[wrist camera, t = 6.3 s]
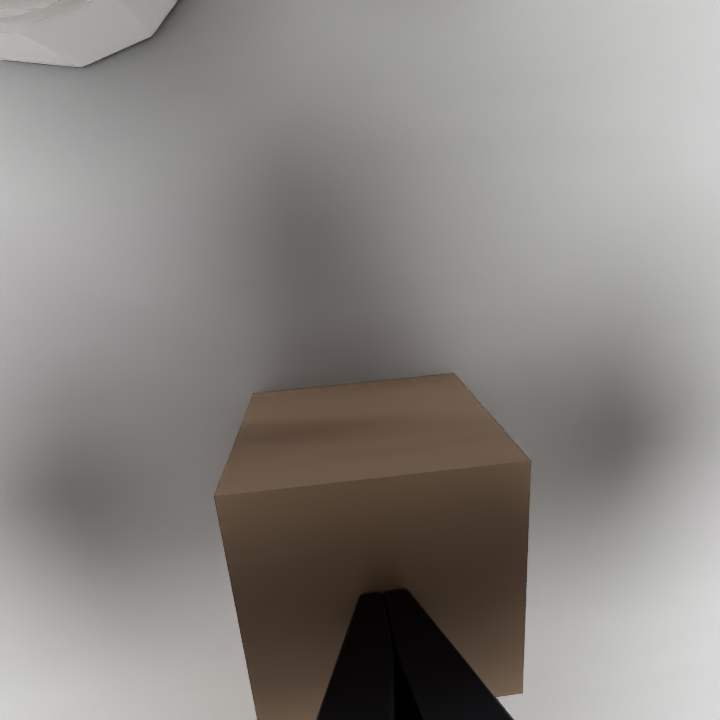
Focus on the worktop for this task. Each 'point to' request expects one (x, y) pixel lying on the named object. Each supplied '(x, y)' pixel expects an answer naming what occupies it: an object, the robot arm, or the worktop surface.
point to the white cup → (75, 28)
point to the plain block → (372, 528)
